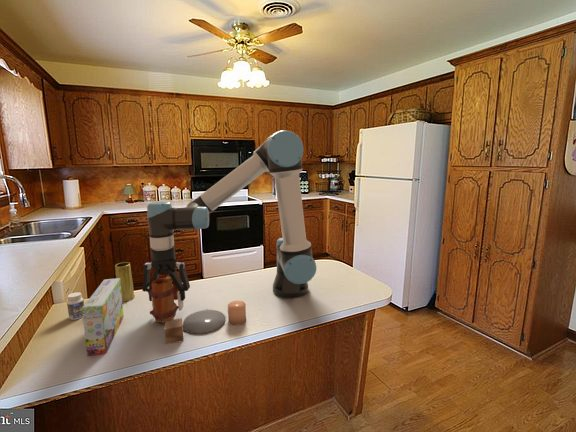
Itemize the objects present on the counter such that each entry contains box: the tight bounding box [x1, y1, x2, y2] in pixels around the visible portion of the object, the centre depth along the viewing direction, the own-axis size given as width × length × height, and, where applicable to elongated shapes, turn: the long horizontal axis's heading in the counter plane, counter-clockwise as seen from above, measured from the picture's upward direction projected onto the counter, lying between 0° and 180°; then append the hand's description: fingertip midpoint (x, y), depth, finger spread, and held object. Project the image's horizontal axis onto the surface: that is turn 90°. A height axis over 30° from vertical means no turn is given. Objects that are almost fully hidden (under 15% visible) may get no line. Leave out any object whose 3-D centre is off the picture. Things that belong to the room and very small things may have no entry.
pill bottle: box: [66, 291, 85, 321], centre depth 106 cm, size 5×5×8 cm
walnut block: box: [164, 317, 184, 345], centre depth 94 cm, size 5×5×5 cm
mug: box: [147, 270, 182, 323], centre depth 105 cm, size 15×8×15 cm, turn 169°
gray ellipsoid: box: [182, 309, 226, 335], centre depth 103 cm, size 14×14×1 cm
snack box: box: [82, 277, 125, 357], centre depth 95 cm, size 21×6×15 cm, turn 17°
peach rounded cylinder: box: [227, 300, 247, 326], centre depth 104 cm, size 6×6×6 cm
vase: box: [114, 261, 135, 303], centre depth 119 cm, size 6×6×14 cm
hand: (168, 308), depth 106 cm, fingers closed on mug, 8 cm apart
